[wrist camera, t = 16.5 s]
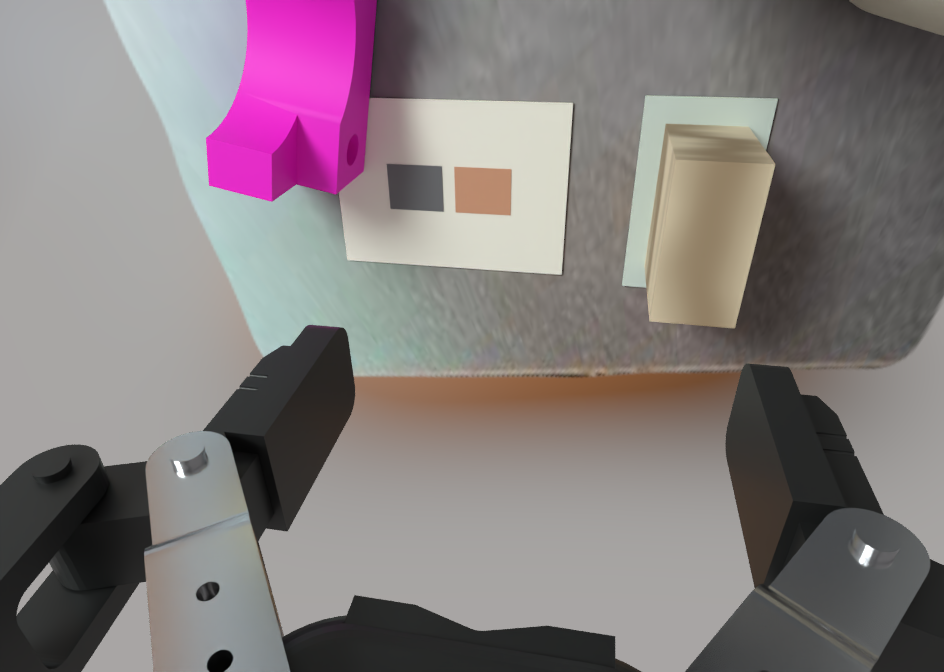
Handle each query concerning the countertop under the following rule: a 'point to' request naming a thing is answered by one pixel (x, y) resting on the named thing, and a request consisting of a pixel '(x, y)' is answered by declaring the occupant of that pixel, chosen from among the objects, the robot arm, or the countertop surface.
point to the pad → (651, 140)
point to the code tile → (461, 185)
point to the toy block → (298, 99)
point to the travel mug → (908, 12)
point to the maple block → (705, 223)
